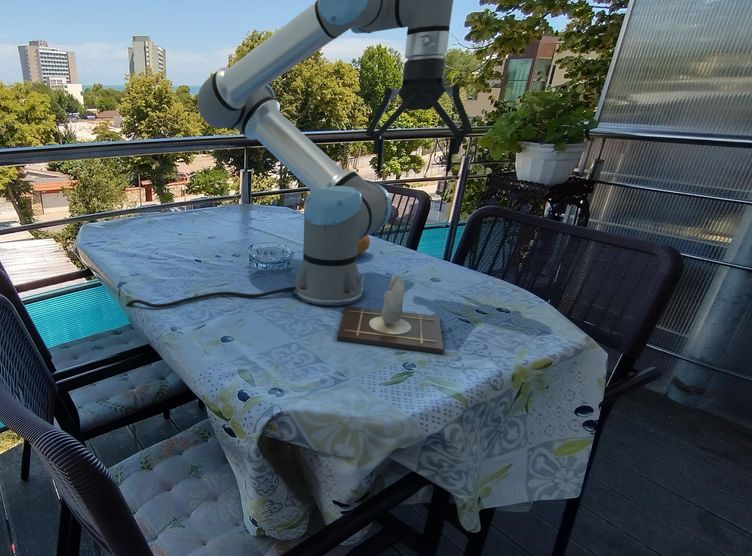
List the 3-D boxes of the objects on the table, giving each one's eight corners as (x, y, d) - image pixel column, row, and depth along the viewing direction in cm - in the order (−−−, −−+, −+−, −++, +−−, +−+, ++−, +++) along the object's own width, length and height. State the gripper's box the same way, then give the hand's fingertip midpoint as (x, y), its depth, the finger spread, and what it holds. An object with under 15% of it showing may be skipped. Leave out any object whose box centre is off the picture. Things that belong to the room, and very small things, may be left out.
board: (336, 340, 86) (337, 334, 86) (345, 310, 98) (346, 305, 98) (442, 354, 80) (443, 348, 80) (438, 320, 92) (439, 315, 92)
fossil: (402, 332, 86) (408, 282, 82) (382, 331, 86) (387, 281, 83) (398, 319, 91) (404, 271, 87) (379, 317, 92) (385, 270, 88)
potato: (324, 255, 133) (325, 229, 130) (351, 247, 138) (352, 223, 135) (349, 263, 126) (351, 236, 123) (376, 254, 131) (379, 229, 128)
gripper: (356, 62, 92) (350, 172, 100) (500, 51, 83) (480, 173, 91) (361, 64, 98) (355, 167, 107) (495, 54, 89) (477, 168, 97)
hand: (412, 170), depth 99 cm, fingers open, 13 cm apart
